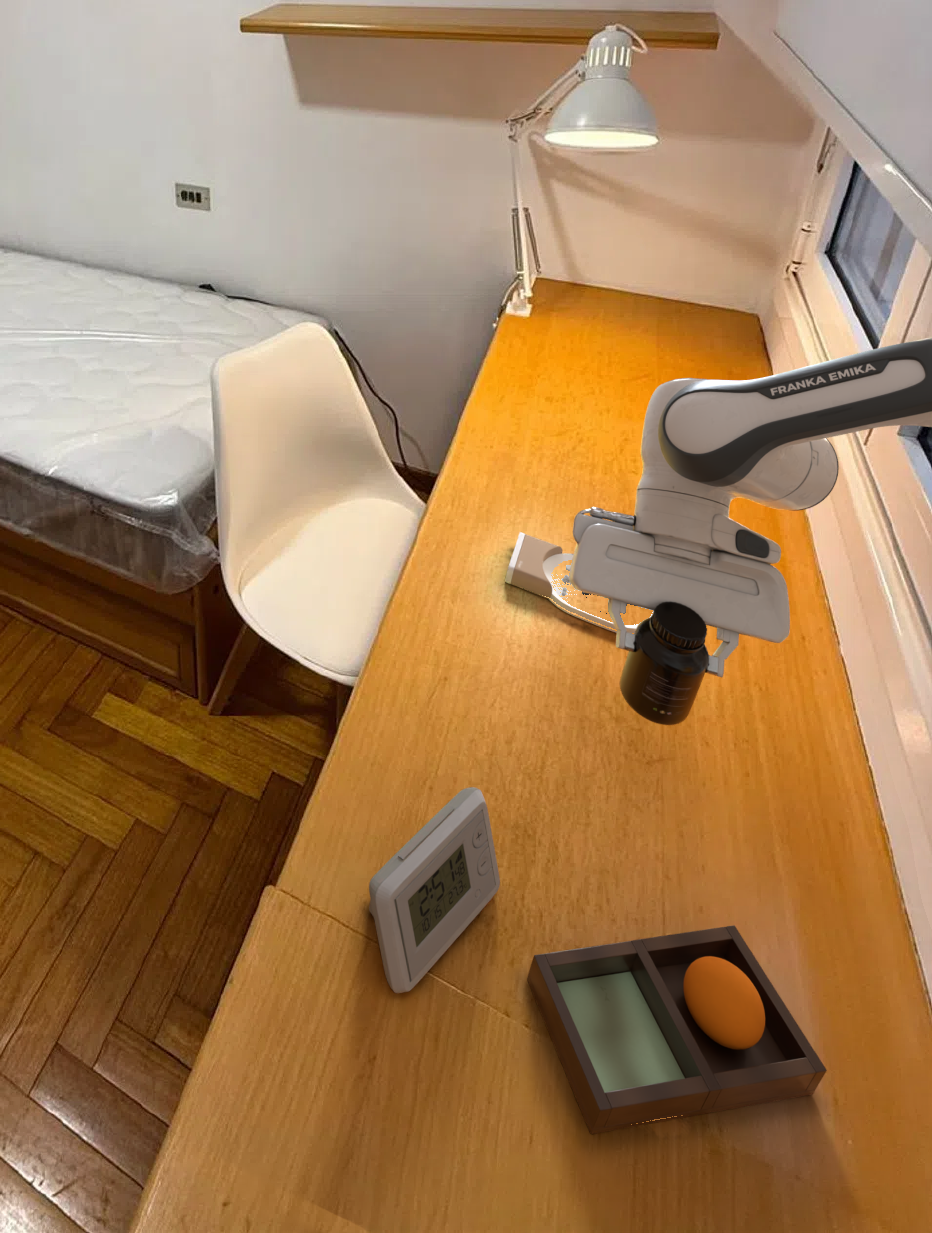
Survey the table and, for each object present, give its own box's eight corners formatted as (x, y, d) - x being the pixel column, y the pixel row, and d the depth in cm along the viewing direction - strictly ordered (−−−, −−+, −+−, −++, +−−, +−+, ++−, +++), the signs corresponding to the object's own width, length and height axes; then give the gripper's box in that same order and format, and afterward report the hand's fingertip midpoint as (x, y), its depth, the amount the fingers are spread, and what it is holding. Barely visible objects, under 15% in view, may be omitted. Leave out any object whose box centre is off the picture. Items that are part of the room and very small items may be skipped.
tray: (723, 948, 78) (734, 924, 76) (813, 1094, 68) (827, 1070, 67) (526, 978, 75) (533, 954, 74) (590, 1134, 66) (600, 1110, 64)
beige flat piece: (522, 525, 127) (666, 577, 118) (518, 540, 128) (660, 593, 119) (506, 573, 118) (661, 633, 108) (502, 589, 119) (655, 650, 110)
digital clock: (390, 1009, 73) (404, 939, 69) (333, 907, 80) (342, 838, 76) (523, 920, 80) (543, 851, 76) (459, 833, 87) (473, 766, 83)
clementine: (721, 975, 75) (739, 937, 73) (770, 1059, 70) (792, 1020, 67) (661, 984, 74) (677, 946, 72) (706, 1070, 69) (725, 1031, 67)
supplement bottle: (614, 663, 92) (639, 585, 87) (682, 681, 90) (712, 602, 85) (621, 717, 86) (649, 636, 81) (694, 737, 84) (727, 656, 79)
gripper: (581, 499, 89) (565, 633, 85) (799, 551, 83) (793, 698, 78) (571, 504, 95) (556, 630, 91) (775, 553, 88) (769, 691, 84)
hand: (668, 662), depth 84 cm, fingers closed on supplement bottle, 7 cm apart
